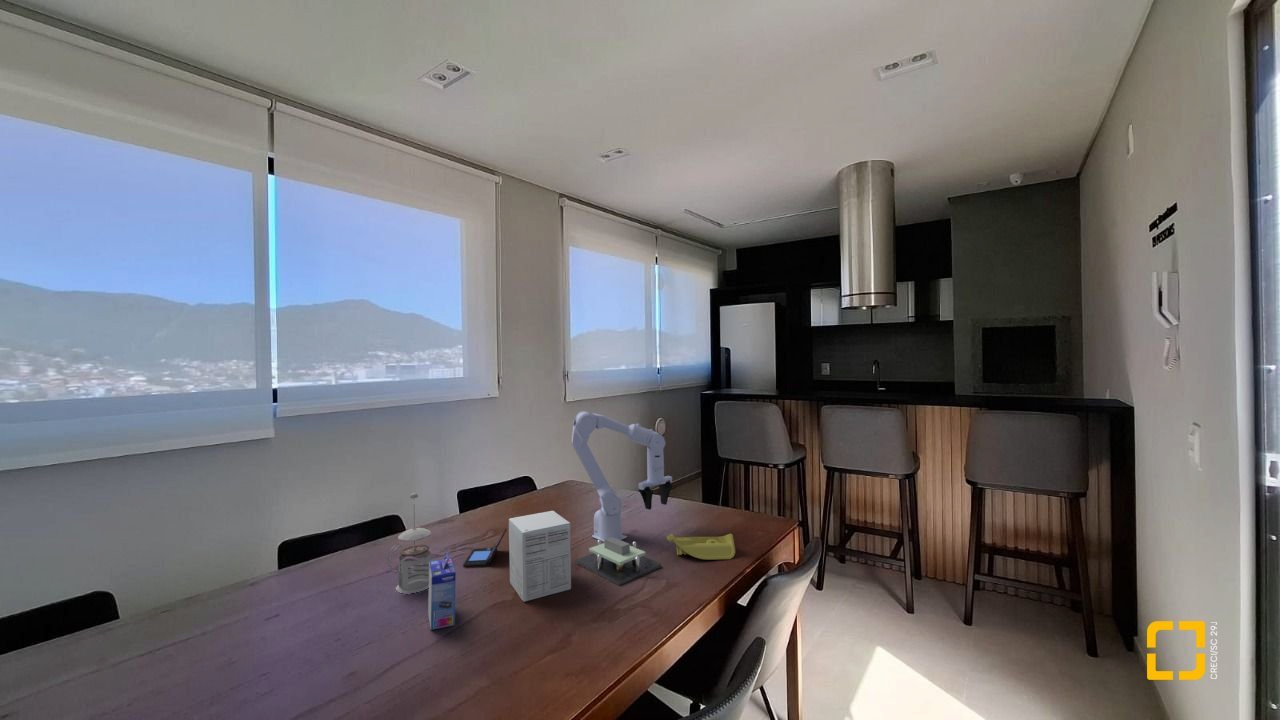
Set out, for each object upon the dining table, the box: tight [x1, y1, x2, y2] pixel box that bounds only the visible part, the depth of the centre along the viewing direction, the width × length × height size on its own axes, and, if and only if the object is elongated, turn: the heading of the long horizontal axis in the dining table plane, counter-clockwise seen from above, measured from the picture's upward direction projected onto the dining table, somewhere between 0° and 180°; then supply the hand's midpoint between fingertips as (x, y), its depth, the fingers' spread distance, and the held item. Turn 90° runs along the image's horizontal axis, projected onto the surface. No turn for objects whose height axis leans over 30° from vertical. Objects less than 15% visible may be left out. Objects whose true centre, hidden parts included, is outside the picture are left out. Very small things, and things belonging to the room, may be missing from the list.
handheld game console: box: [462, 528, 508, 569], centre depth 145 cm, size 12×11×7 cm
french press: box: [386, 492, 432, 594], centre depth 127 cm, size 10×12×25 cm
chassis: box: [575, 539, 662, 586], centre depth 138 cm, size 20×16×5 cm
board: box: [588, 537, 647, 565], centre depth 138 cm, size 14×10×3 cm
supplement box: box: [508, 510, 572, 603], centre depth 126 cm, size 13×13×18 cm
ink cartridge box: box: [427, 552, 457, 631], centre depth 111 cm, size 10×6×14 cm, turn 27°
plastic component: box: [666, 533, 736, 561], centre depth 145 cm, size 20×7×10 cm
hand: (656, 506), depth 163 cm, fingers open, 7 cm apart
